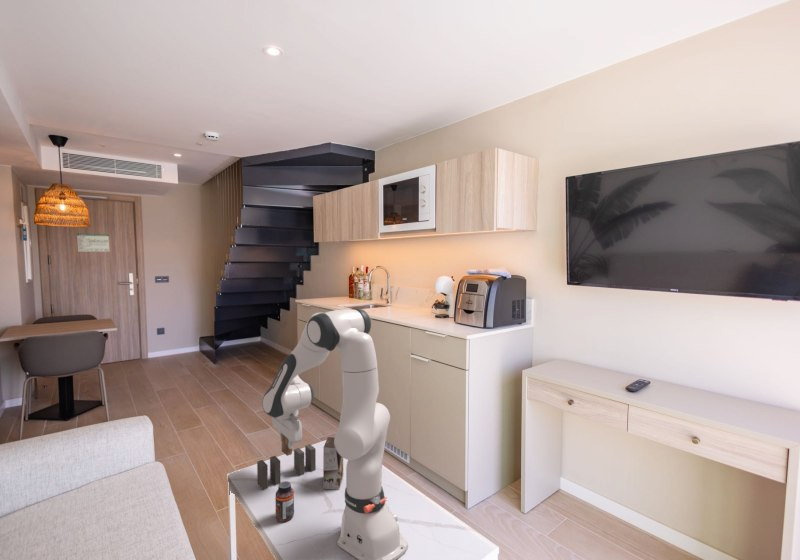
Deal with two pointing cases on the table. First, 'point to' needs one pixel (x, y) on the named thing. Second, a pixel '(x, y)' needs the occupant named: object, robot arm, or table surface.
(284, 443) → the domino
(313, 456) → the domino
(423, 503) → the table surface
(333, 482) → the coffee box
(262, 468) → the domino
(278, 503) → the supplement bottle
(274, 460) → the domino
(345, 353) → the robot arm
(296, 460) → the domino
